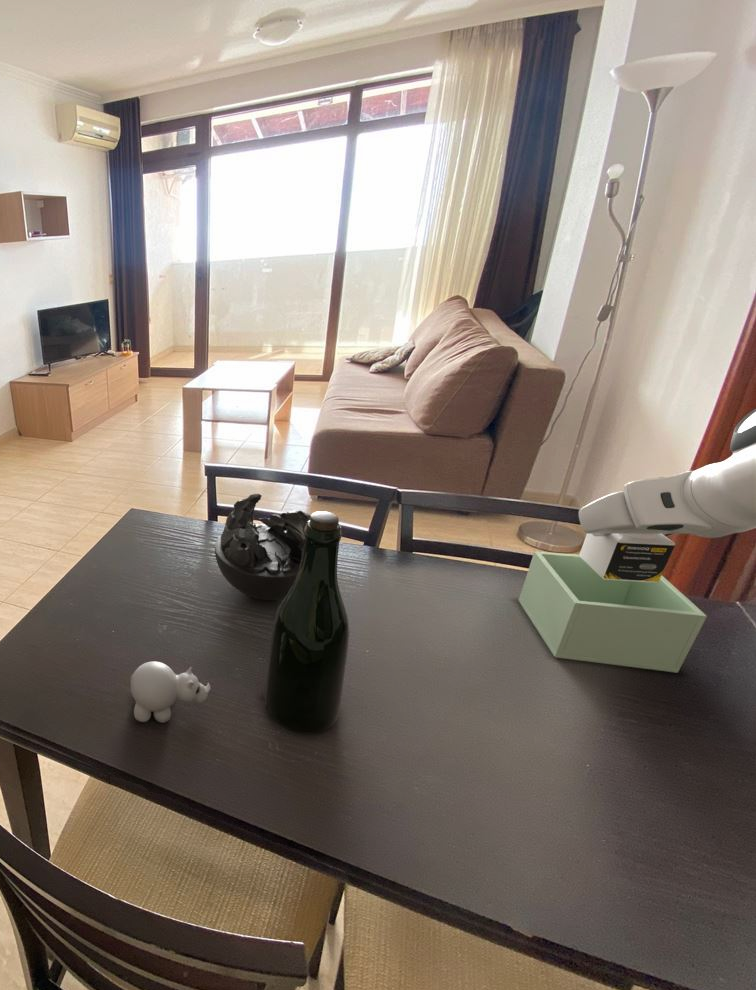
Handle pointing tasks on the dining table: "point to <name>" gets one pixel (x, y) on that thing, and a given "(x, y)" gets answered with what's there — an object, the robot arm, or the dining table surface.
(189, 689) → the chubby cartoon animal
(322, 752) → the dining table surface
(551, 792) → the dining table surface
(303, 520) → the coal bowl
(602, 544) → the medicine bottle
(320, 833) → the dining table surface
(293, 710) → the beer bottle
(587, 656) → the open storage box
